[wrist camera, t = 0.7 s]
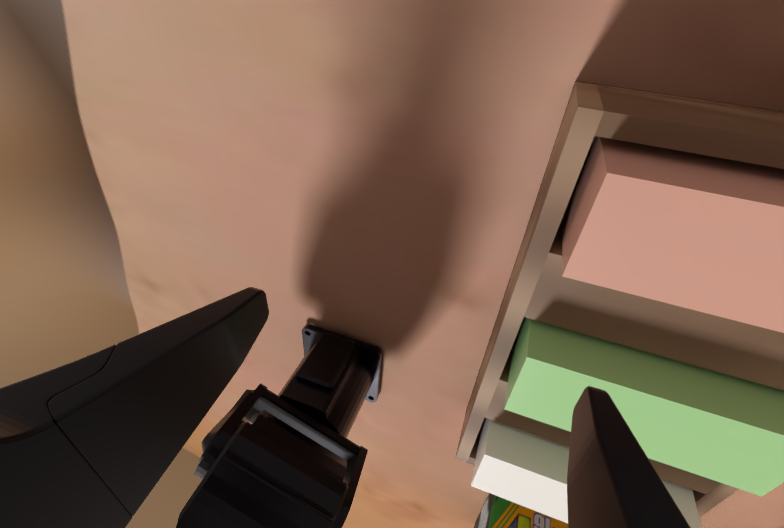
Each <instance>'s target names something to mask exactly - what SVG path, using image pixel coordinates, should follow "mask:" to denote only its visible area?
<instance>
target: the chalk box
mask: <svg viewBox="0 0 784 528" xmlns="http://www.w3.org/2000/svg"><path fill="white" fill-rule="evenodd" d="M474 528H568V523H565V522H563V521H560V520H557V519H555V518H552V517H550V516H547V515H545V514H542V513H539V512H537V511H534V510H532V509H529V508H527V507H524V506H522V505H519V504H516V503H514V502H511V501H509V500H506V499H504V498H501V497H498V496H496V495H493V494H491V493H490V494H489V496H488V498H487V500H486V502H485V504H484V506H483V508H482V510H481V513H480V514H479V517H478V518H477V520H476V523H475V526H474Z"/></svg>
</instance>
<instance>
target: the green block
mask: <svg viewBox="0 0 784 528" xmlns="http://www.w3.org/2000/svg"><path fill="white" fill-rule="evenodd" d="M587 386H591V387H595V388H598V389H602V390H605V391H606V392H607V393H608V394H609V395H610V397H611V399H612V400H613V402H614V403H615V405H616V407H617V408H618V410H619V412H620V413H621V415H622V417H623V418H624V420H625V421H626V423H627V425H628V426H629V428H630V430H631V431H632V433H633V434H634V436H635V438H636V439H637V441H638V443H639V444H640V446H641V447H642V449H643V451H644V452H645V454H646V456H647V457H648V458H649V459H652V460H655V461H658V462H661V463H664V464H667V465H670V466H673V467H676V468H679V469H682V470H685V471H688V472H691V473H694V474H697V475H700V476H702V477H705V478H708V479H711V480H714V481H717V482H720V483H723V484H726V485H729V486H732V487H735V488H738V489H741V490H744V491H747V492H750V493H753V494H756V495H759V496H761V497H762V496H763V495H765V494H766V493H768V492H769V491H771V490H772V489H774V488H776V487H777V486H779V485H780V484H782V483H783V482H784V390H780V389H777V388H773V387H770V386H766V385H763V384H759V383H755V382H752V381H748V380H745V379H741V378H738V377H734V376H731V375H727V374H724V373H720V372H717V371H713V370H710V369H706V368H703V367H699V366H695V365H692V364H688V363H685V362H681V361H678V360H674V359H671V358H667V357H664V356H660V355H657V354H653V353H650V352H646V351H643V350H639V349H635V348H632V347H628V346H625V345H621V344H618V343H614V342H611V341H607V340H604V339H600V338H597V337H593V336H590V335H586V334H583V333H579V332H576V331H572V330H568V329H565V328H561V327H558V326H554V325H551V324H547V323H544V322H540V321H537V320H533V319H530V318H526V317H525V320H524V322H523V325H522V327H521V330H520V332H519V335H518V337H517V340H516V342H515V345H514V347H513V350H512V357H511V364H510V371H509V378H508V385H507V392H506V400H505V407H504V409H505V410H508V411H511V412H514V413H517V414H520V415H522V416H525V417H528V418H531V419H534V420H537V421H540V422H543V423H546V424H549V425H552V426H555V427H558V428H561V429H564V430H567V431H570V432H571V426H572V415H573V410H574V407H575V405H576V403H577V401H578V400H579V398H580V396H581V394H582V393H583V391H584V389H585V388H586V387H587Z"/></svg>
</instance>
